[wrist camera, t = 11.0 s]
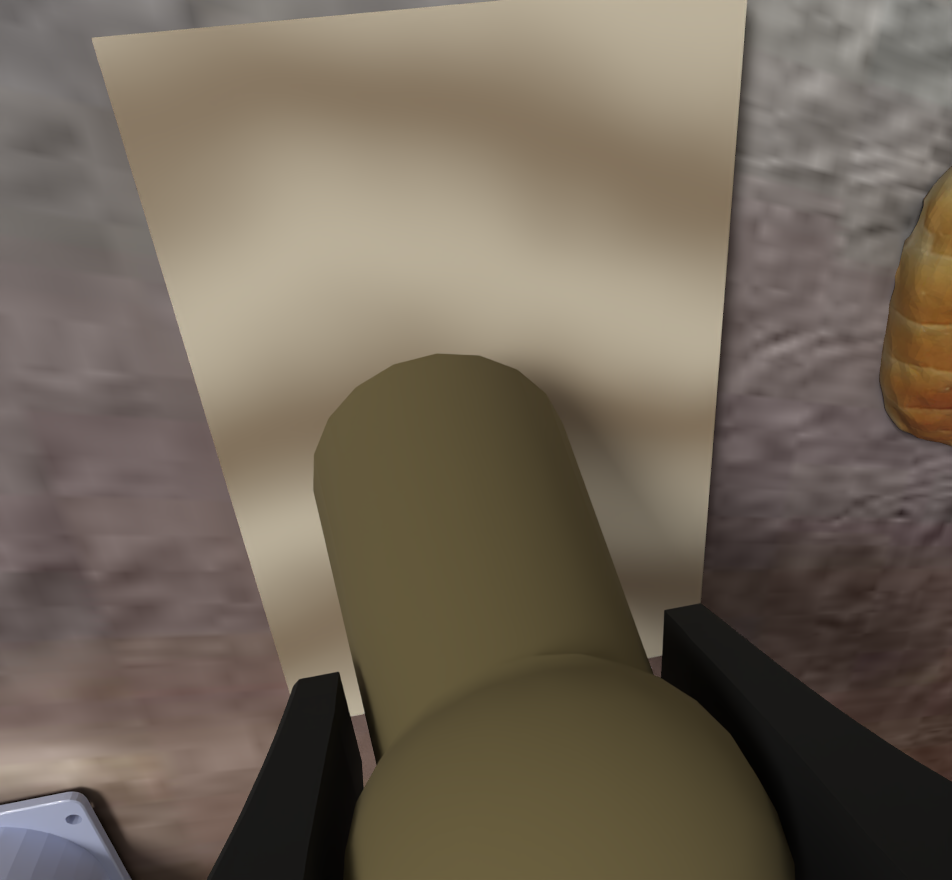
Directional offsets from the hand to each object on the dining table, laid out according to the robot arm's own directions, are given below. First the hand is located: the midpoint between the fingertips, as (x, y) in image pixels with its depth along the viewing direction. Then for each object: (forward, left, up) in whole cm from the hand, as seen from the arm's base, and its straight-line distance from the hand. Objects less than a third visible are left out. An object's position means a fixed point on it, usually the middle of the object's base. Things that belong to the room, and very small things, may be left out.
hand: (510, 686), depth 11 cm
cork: (+1, 0, -6) cm, 6 cm away
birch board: (0, -1, -10) cm, 10 cm away
